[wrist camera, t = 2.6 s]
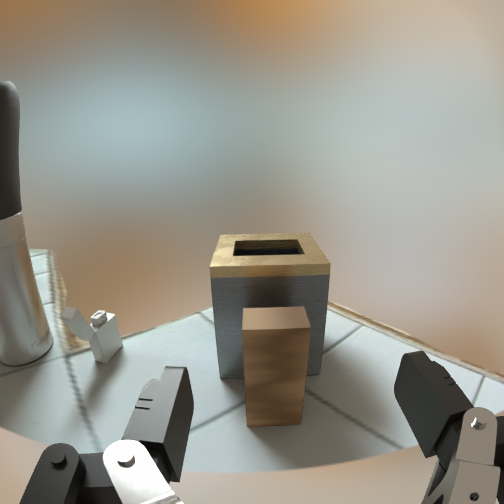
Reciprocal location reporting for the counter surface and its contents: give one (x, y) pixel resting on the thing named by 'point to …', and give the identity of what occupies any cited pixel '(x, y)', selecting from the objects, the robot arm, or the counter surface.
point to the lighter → (95, 332)
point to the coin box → (267, 289)
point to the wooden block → (275, 364)
